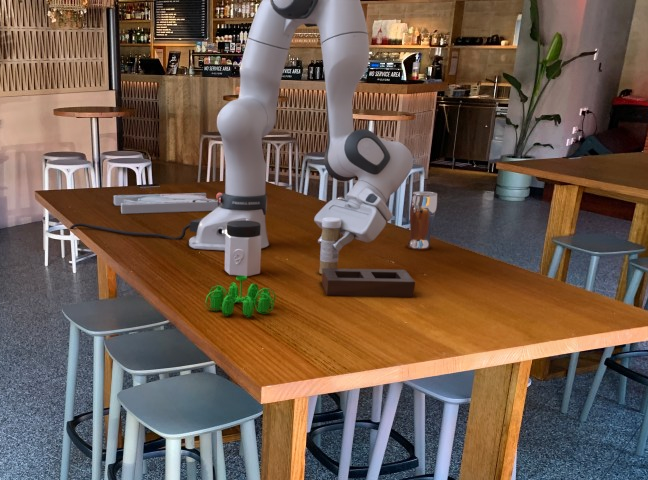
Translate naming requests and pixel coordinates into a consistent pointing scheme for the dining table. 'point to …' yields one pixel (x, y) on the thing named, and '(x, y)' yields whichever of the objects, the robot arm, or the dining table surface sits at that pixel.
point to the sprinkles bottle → (329, 243)
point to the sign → (165, 203)
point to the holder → (367, 282)
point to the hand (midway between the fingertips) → (327, 246)
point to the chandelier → (240, 299)
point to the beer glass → (422, 219)
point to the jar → (243, 248)
